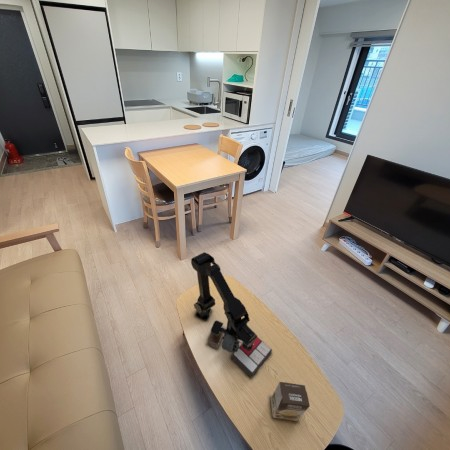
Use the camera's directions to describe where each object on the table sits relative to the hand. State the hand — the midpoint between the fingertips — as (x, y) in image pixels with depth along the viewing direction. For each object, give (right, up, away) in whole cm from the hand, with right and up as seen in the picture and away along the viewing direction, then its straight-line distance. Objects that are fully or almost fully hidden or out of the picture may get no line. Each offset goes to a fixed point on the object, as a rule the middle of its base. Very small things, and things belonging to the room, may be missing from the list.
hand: (230, 344), depth 106 cm
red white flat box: (+9, -4, -2) cm, 10 cm away
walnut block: (-7, +1, +4) cm, 8 cm away
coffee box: (+18, -16, -18) cm, 30 cm away
